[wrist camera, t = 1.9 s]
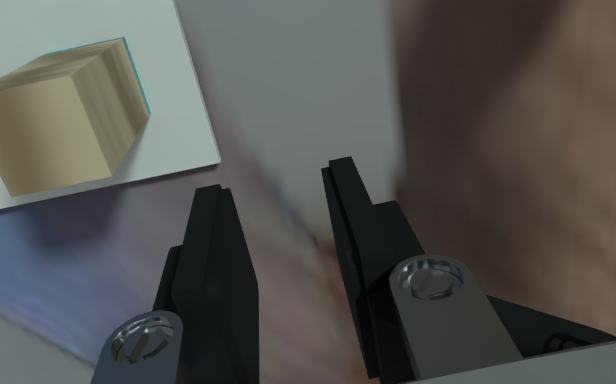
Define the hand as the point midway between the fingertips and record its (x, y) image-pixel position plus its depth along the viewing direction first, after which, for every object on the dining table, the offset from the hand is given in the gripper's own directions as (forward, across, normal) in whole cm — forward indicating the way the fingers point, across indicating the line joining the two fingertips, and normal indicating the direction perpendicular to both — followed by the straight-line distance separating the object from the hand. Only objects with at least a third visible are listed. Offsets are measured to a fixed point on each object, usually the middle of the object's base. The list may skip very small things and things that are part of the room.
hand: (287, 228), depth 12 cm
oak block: (+22, +11, 0) cm, 25 cm away
